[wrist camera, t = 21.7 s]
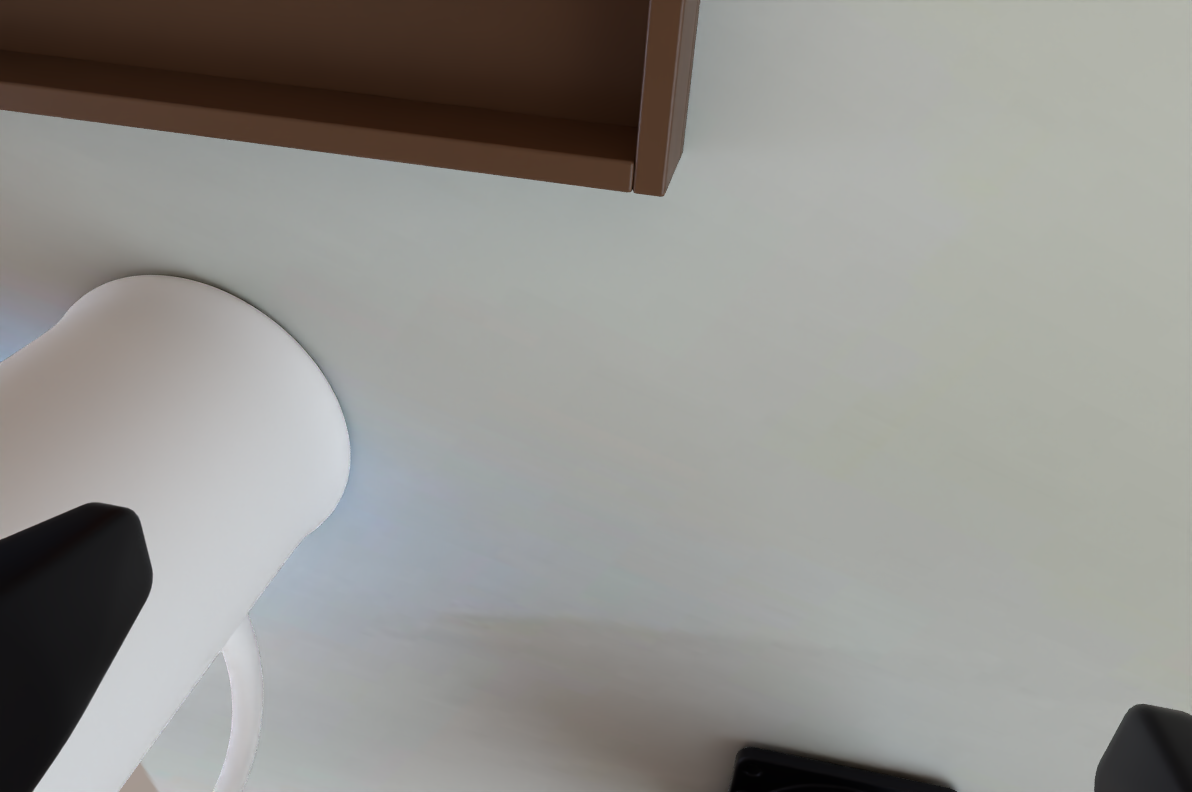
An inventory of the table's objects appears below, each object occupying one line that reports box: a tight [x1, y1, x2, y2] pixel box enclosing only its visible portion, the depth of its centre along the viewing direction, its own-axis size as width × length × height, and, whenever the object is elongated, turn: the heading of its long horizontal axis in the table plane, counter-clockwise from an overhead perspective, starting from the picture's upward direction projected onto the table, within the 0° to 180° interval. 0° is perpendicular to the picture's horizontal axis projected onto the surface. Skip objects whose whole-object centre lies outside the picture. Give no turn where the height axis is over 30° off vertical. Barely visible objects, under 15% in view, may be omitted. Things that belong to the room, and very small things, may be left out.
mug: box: [0, 275, 351, 792], centre depth 21 cm, size 12×8×12 cm
